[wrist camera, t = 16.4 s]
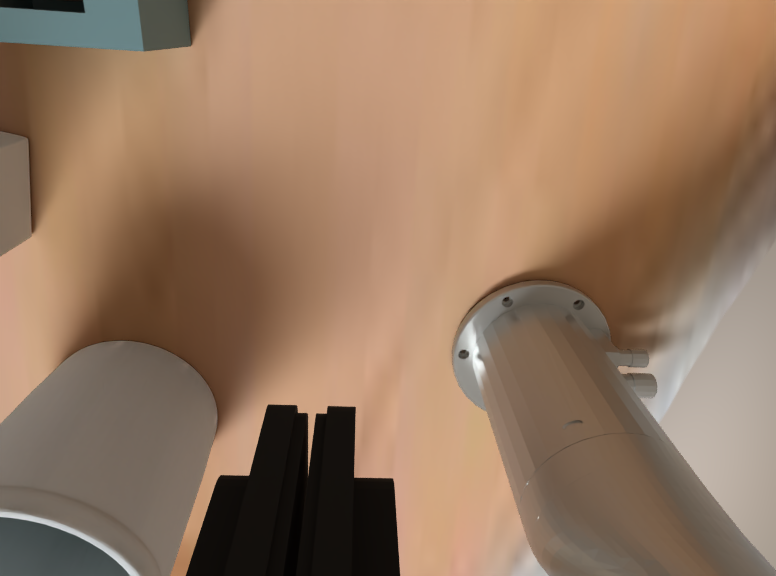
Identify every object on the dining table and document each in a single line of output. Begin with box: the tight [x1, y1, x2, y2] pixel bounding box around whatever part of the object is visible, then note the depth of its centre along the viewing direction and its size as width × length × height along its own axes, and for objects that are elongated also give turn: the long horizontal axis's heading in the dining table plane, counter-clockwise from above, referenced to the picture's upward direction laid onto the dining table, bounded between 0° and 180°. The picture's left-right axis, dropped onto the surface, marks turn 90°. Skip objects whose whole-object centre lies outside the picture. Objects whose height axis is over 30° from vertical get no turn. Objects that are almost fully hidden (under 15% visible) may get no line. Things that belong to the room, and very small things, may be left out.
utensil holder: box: [0, 341, 218, 576], centre depth 37 cm, size 15×15×18 cm
